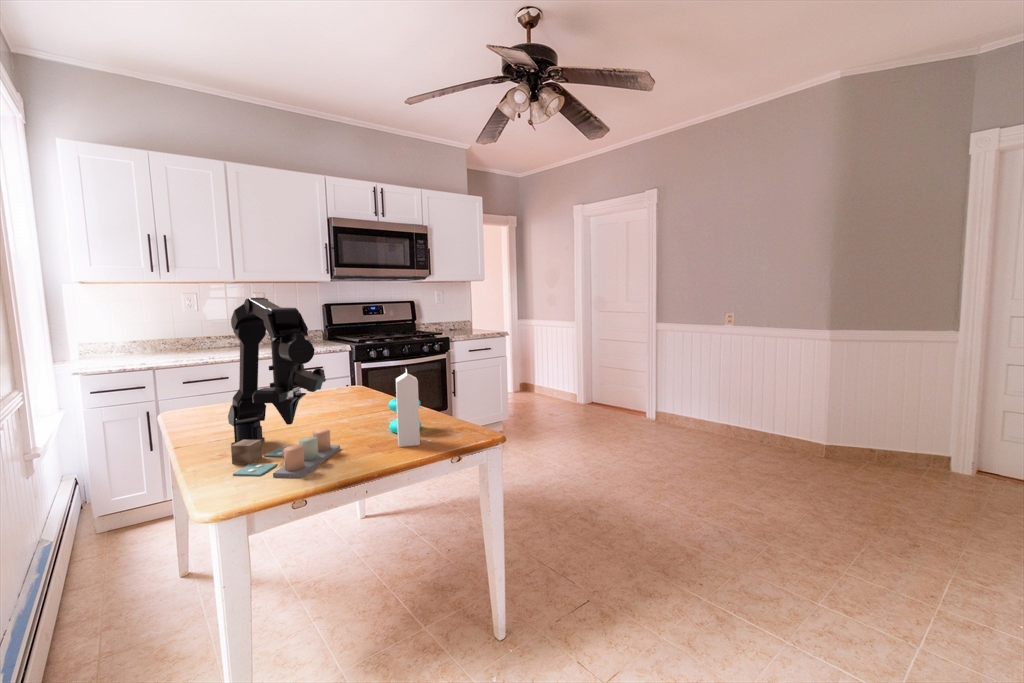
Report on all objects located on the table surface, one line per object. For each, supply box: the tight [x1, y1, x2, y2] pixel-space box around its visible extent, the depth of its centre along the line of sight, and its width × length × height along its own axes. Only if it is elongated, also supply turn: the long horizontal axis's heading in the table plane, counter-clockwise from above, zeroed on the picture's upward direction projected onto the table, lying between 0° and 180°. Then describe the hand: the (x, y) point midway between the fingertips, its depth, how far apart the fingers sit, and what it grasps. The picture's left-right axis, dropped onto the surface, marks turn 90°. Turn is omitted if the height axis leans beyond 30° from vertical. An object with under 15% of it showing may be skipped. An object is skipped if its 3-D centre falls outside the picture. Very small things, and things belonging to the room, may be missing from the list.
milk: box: [395, 368, 421, 448], centre depth 135 cm, size 6×6×22 cm
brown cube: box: [230, 440, 263, 465], centre depth 123 cm, size 5×5×5 cm
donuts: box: [388, 398, 422, 434], centre depth 149 cm, size 10×10×10 cm
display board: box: [272, 428, 341, 479], centre depth 121 cm, size 7×21×6 cm, turn 176°
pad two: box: [232, 462, 278, 477], centre depth 116 cm, size 7×7×1 cm
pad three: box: [265, 446, 287, 458], centre depth 129 cm, size 7×7×1 cm
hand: (289, 424), depth 113 cm, fingers closed
